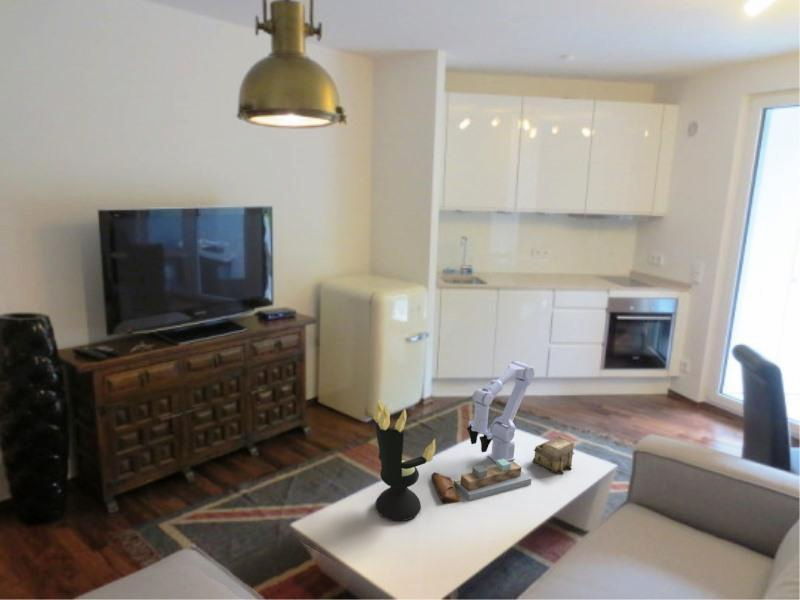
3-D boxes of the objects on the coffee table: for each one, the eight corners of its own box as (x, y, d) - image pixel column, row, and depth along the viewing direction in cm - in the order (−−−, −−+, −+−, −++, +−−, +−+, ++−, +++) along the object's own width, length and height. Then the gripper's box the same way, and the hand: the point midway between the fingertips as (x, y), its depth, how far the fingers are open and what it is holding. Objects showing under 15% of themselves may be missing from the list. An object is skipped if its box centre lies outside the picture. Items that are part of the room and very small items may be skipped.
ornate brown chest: (577, 466, 240) (580, 442, 238) (558, 476, 232) (561, 451, 229) (549, 452, 252) (551, 429, 249) (529, 461, 243) (532, 437, 240)
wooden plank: (511, 469, 230) (512, 461, 229) (520, 476, 226) (521, 467, 225) (460, 484, 218) (461, 475, 217) (468, 491, 213) (469, 482, 212)
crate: (480, 470, 221) (481, 464, 220) (487, 476, 217) (487, 470, 216) (472, 472, 219) (472, 466, 218) (478, 478, 215) (478, 472, 214)
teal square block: (503, 464, 226) (504, 458, 226) (510, 469, 223) (510, 463, 222) (495, 466, 225) (496, 460, 224) (502, 471, 221) (502, 465, 220)
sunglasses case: (463, 502, 210) (456, 489, 208) (448, 511, 210) (440, 499, 208) (450, 477, 227) (443, 465, 225) (435, 486, 227) (428, 474, 225)
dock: (513, 471, 234) (514, 465, 233) (530, 484, 225) (531, 478, 224) (453, 486, 221) (454, 480, 220) (469, 500, 211) (469, 494, 211)
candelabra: (433, 507, 206) (440, 394, 196) (399, 537, 188) (405, 414, 178) (392, 490, 216) (396, 381, 206) (356, 517, 198) (359, 399, 188)
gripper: (463, 412, 235) (461, 441, 238) (483, 426, 222) (480, 457, 225) (477, 409, 238) (474, 438, 241) (497, 423, 226) (494, 453, 229)
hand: (478, 447), depth 234 cm, fingers open, 7 cm apart
